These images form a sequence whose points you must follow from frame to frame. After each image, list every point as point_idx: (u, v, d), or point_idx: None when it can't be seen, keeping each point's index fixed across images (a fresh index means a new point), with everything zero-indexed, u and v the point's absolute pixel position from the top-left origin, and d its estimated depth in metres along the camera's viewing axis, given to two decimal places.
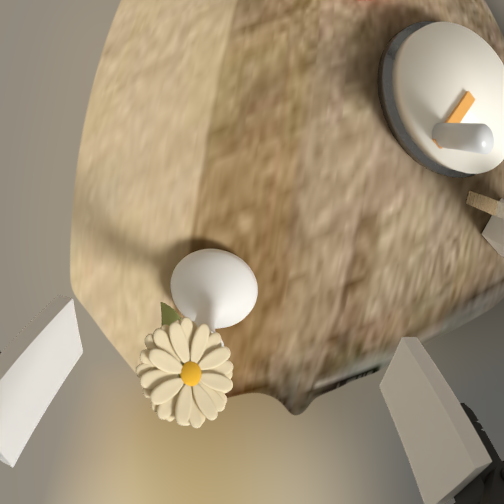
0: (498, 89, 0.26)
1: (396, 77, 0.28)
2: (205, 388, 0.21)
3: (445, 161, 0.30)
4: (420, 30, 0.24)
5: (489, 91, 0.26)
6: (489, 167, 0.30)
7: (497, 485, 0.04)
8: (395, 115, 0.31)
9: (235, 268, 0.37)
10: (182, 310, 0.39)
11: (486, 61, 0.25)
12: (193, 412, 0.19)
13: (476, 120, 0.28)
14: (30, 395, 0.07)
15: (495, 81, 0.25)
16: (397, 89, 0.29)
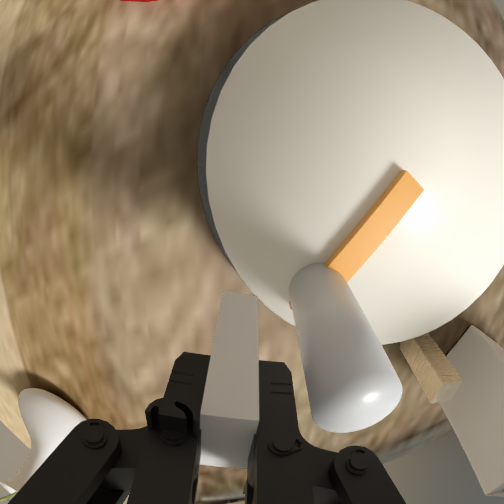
0: (492, 148, 0.13)
1: None
2: None
3: None
4: (269, 30, 0.11)
5: (467, 157, 0.13)
6: (440, 321, 0.17)
7: (265, 463, 0.06)
8: None
9: (59, 416, 0.24)
10: None
11: (466, 83, 0.12)
12: None
13: (422, 236, 0.15)
14: None
15: (487, 130, 0.12)
16: None
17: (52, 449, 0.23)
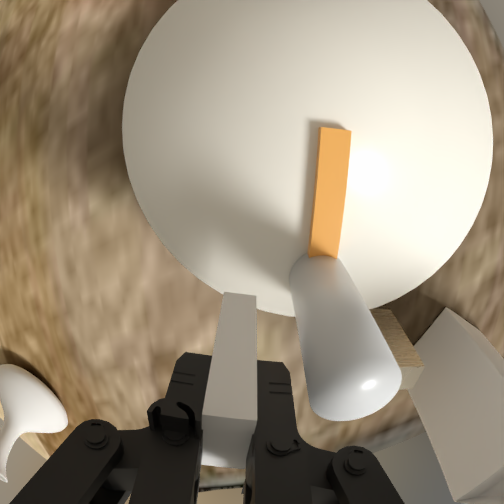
0: (398, 37, 0.11)
1: None
2: None
3: None
4: (127, 100, 0.13)
5: (378, 65, 0.12)
6: (462, 232, 0.15)
7: (263, 463, 0.06)
8: None
9: (28, 391, 0.24)
10: None
11: None
12: None
13: (384, 171, 0.14)
14: None
15: (379, 24, 0.11)
16: None
17: (22, 424, 0.23)
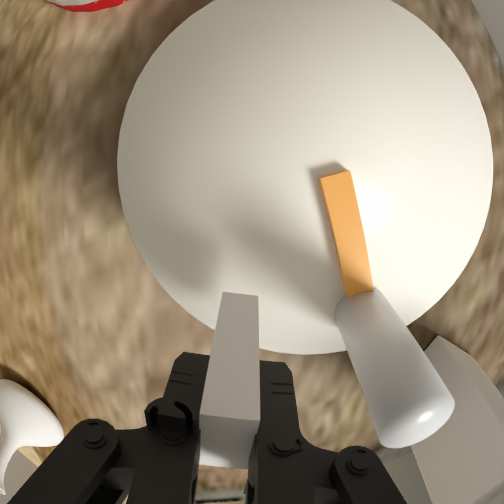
0: (361, 48, 0.11)
1: None
2: None
3: None
4: (126, 211, 0.14)
5: (353, 89, 0.12)
6: (482, 217, 0.14)
7: (266, 463, 0.06)
8: None
9: (25, 407, 0.24)
10: None
11: (274, 36, 0.11)
12: None
13: (393, 194, 0.14)
14: None
15: (338, 42, 0.11)
16: None
17: (19, 438, 0.22)
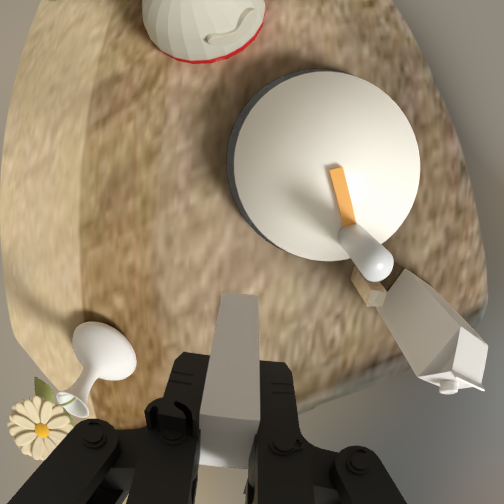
0: (349, 109, 0.27)
1: None
2: (53, 439, 0.23)
3: None
4: (237, 184, 0.30)
5: (344, 129, 0.28)
6: (414, 188, 0.30)
7: (266, 463, 0.06)
8: (240, 202, 0.34)
9: (111, 340, 0.40)
10: None
11: (309, 103, 0.27)
12: (45, 453, 0.22)
13: (363, 177, 0.30)
14: None
15: (338, 106, 0.27)
16: None
17: (101, 368, 0.38)
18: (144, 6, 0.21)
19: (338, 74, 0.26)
